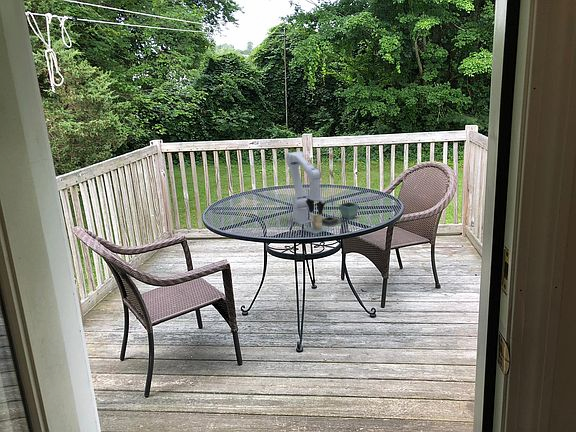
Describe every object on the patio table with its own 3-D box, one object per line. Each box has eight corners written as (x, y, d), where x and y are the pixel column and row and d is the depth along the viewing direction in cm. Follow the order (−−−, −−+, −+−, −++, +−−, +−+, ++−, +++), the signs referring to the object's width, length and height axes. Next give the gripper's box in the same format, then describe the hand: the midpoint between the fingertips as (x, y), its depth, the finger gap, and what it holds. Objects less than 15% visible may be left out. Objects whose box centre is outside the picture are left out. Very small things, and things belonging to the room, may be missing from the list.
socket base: (311, 222, 286) (311, 219, 285) (330, 217, 295) (330, 213, 295) (328, 228, 274) (328, 224, 273) (347, 221, 283) (347, 218, 282)
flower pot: (348, 221, 285) (348, 207, 282) (339, 218, 291) (338, 204, 289) (358, 218, 289) (358, 204, 287) (349, 215, 296) (349, 202, 294)
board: (302, 230, 273) (302, 229, 273) (317, 225, 280) (317, 224, 280) (315, 234, 264) (315, 233, 264) (331, 229, 271) (331, 228, 271)
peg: (312, 228, 273) (312, 215, 270) (317, 227, 275) (317, 214, 273) (317, 230, 270) (316, 217, 267) (322, 228, 272) (321, 215, 270)
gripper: (328, 190, 262) (329, 213, 266) (311, 187, 273) (312, 209, 277) (319, 193, 258) (320, 216, 262) (302, 189, 269) (303, 211, 273)
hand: (315, 212), depth 269 cm, fingers open, 7 cm apart
